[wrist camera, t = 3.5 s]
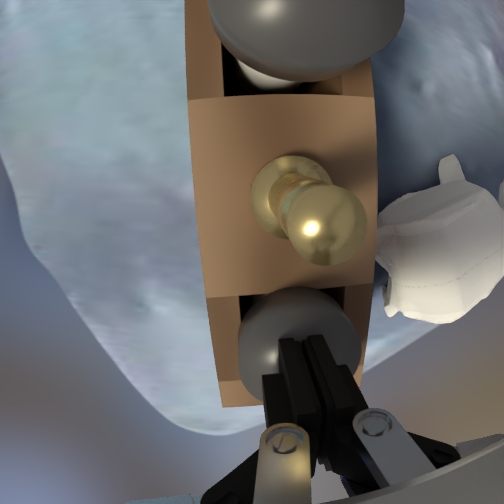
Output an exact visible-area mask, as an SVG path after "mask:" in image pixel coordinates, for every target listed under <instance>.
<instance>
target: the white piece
mask: <svg viewBox="0 0 504 504" xmlns="http://www.w3.org/2000/svg"><path fill="white" fill-rule="evenodd" d="M438 167H439V168H438V172H439V179H440V185H438V186H435V187H431V188H429V189H426V190H423V191H417V192H416V193H415V192H414V193H407V194H406V195H403V196H402V197H401V198H398V199H396V201H394V202H392V203H391V204H389V205H388V206H387V207H386V208H385V209H384V210H382V212H380V213H379V215H378V216H377V236H376V255H375V260H376V261H377V262H378V263H379V264H380V265H381V266H382V267H383V268H384V269H385V270H386V271H387V272H388V273H389V276H388V286H387V288H386V286H384V285H383V286H382V291H383V292H382V294H383V301H384V309H385V311H386V313H387V315H388V316H389V317H392V316H393V315H395V314H396V312H398V311H401V312H402V313H403V314H404V316H407V317H409V318H413V319H419V320H424V321H427V322H431V323H436V324H439V323H440V324H444V323H450V322H453V321H455V320H456V319H458V318H460V317H461V316H463V315H464V314H466V312H468V311H469V310H470V309H471V308H472V307H473V306H475V305H476V304H477V303H478V302H479V301H480V300H481V299H484V298H486V297H487V296H488V295H489V294H490V292H491V291H492V290H493V288H494V287H495V285H496V284H497V283H498V281H499V280H500V279H501V278H502V277H503V276H504V180H503V181H502V182H501V183H500V185H499V197H498V200H499V204H498V202H497V201H496V200H495V198H494V197H493V196H492V195H491V193H490V192H489V191H488V190H486V189H485V188H483V187H480V186H478V185H475V184H473V183H471V182H467V181H466V180H465V176H464V174H463V172H462V169H461V166H460V163H459V161H458V159H457V157H456V156H455V155H454V154H451V155H449V156H447V157H444V158H442V159H441V160H440V162H439V166H438Z"/></svg>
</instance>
